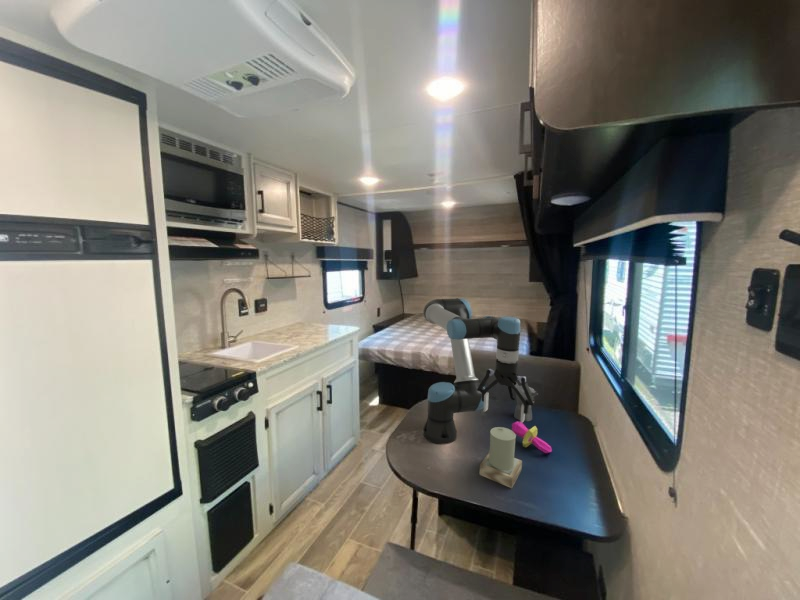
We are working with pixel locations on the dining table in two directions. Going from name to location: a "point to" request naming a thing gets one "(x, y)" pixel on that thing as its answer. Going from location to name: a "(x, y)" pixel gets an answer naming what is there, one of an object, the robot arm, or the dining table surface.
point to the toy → (530, 437)
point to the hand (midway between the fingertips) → (503, 415)
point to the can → (502, 448)
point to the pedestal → (501, 472)
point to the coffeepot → (519, 403)
